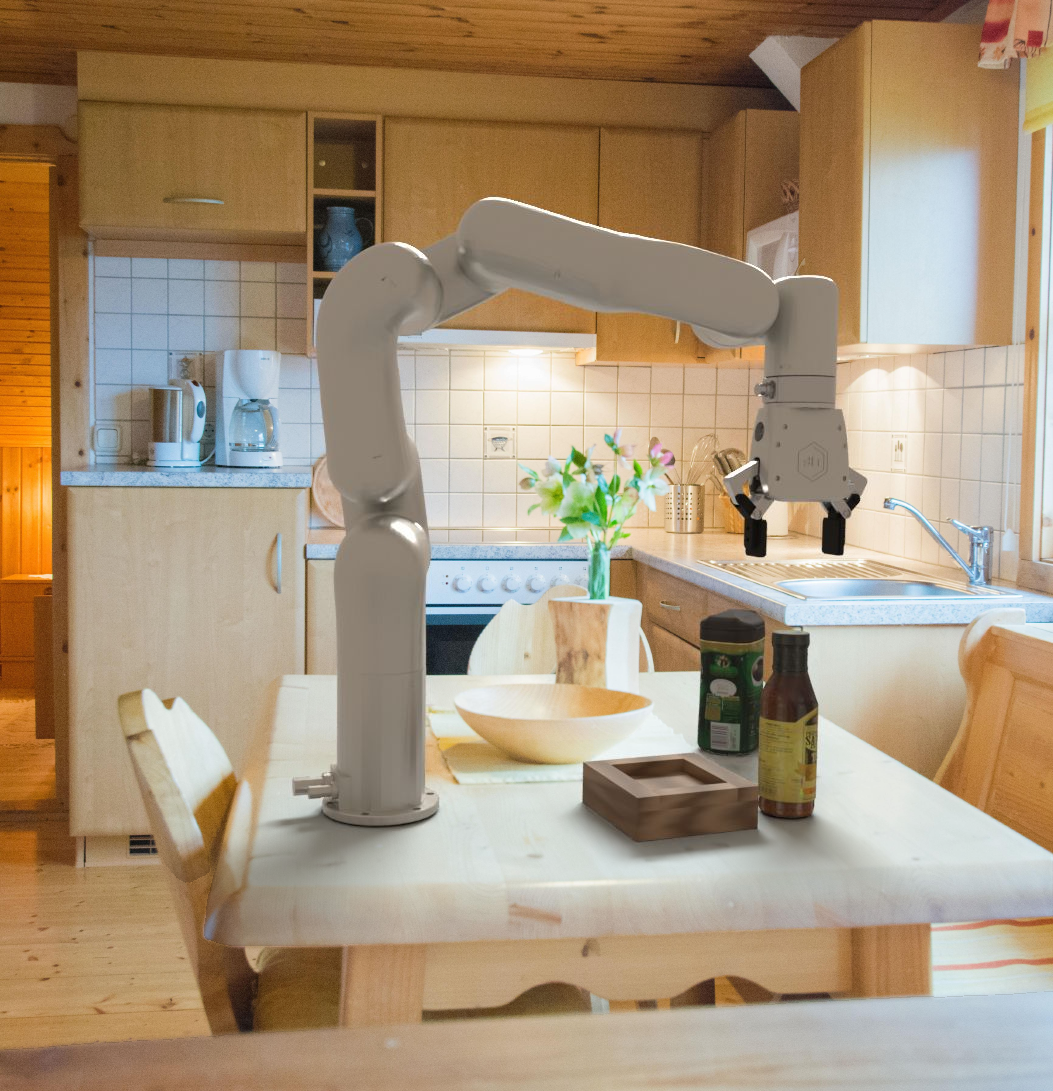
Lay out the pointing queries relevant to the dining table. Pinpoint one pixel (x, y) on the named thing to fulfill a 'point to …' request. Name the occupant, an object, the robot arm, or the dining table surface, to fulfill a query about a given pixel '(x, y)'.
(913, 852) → the dining table surface
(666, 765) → the walnut block
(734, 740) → the coffee jar
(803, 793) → the sauce bottle
